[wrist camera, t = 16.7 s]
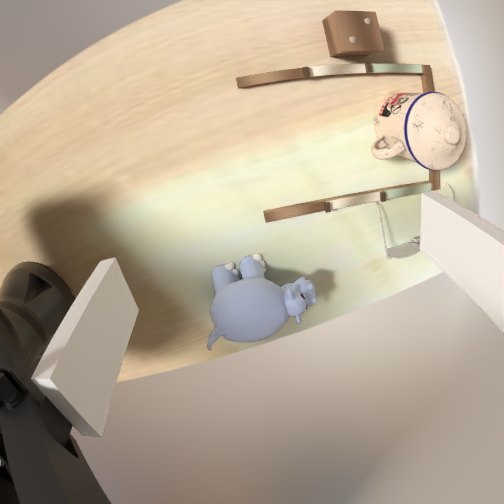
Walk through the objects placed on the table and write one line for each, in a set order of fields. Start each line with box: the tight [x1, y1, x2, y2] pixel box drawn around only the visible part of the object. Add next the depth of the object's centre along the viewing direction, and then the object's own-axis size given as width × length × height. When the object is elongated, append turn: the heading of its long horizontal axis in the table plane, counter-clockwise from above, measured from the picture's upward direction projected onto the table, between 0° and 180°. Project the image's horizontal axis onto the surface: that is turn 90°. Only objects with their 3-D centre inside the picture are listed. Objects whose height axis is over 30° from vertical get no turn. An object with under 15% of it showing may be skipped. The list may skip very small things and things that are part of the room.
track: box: [236, 63, 439, 222], centre depth 35 cm, size 26×18×2 cm
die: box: [322, 11, 384, 57], centre depth 28 cm, size 5×5×5 cm
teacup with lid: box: [371, 92, 466, 170], centre depth 30 cm, size 12×9×12 cm
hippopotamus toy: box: [207, 254, 317, 350], centre depth 41 cm, size 11×15×10 cm
